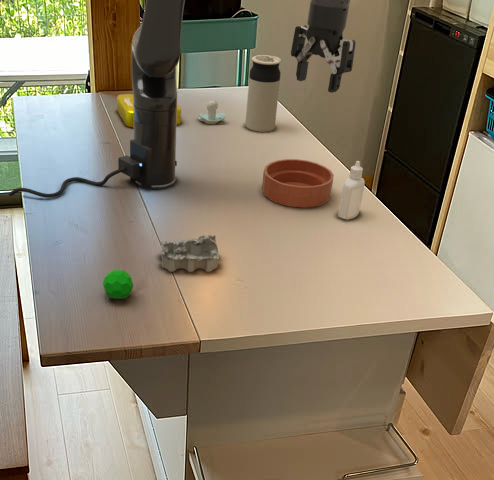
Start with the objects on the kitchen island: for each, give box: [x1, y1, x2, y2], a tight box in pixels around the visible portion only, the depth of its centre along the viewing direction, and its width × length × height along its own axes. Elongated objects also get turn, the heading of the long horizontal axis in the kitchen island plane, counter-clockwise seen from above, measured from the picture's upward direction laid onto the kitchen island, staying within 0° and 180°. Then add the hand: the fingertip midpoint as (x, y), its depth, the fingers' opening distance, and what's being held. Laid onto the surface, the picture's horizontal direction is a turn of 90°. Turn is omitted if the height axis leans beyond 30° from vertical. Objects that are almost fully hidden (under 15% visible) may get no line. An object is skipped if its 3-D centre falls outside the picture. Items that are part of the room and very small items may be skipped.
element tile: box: [116, 93, 182, 129], centre depth 192 cm, size 15×15×5 cm
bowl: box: [261, 158, 335, 208], centre depth 157 cm, size 15×15×5 cm
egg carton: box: [160, 234, 220, 273], centre depth 130 cm, size 11×8×4 cm
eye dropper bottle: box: [337, 160, 366, 220], centre depth 147 cm, size 4×6×12 cm
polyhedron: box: [102, 269, 134, 300], centre depth 119 cm, size 5×5×5 cm
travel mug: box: [244, 54, 282, 133], centre depth 187 cm, size 8×8×18 cm
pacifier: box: [198, 99, 226, 125], centre depth 192 cm, size 7×6×6 cm
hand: (316, 86), depth 146 cm, fingers open, 8 cm apart
